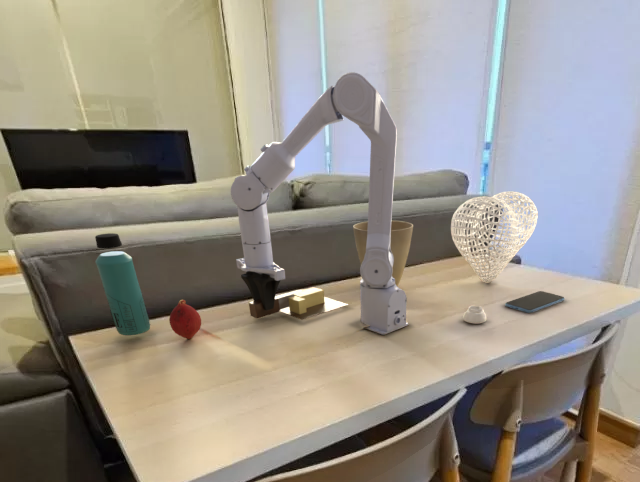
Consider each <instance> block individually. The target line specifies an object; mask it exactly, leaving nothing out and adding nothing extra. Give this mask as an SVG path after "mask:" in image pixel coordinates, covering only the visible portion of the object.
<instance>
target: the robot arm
mask: <svg viewBox="0 0 640 482" xmlns="http://www.w3.org/2000/svg"><path fill="white" fill-rule="evenodd" d="M390 113H391V112H389V110H388V107H387V106H386V104H385V102H384V100H383V98H382V96H381V94H380V93H379V91H378V90H377V88H375V86H374V85H372V83H371V82H370V81H369V80H367V79H366V77H364V76H363V75H362V74H360V73H358V72H355V71H354V72H352V71H351V72H350V71H349V72H346V73H344V74H342V75H341V76H340V77H339V78H338V79H337V80H336V82H335V85H330V86H329V87H328V88H327V89H326V90H325V91H324V92H323V93H322V94H321V95H320V96H319V97H318V98H317V100H315V102H314V103H313V104H312V106H310V107H309V109H308V110H307V111H306V112H305V114H304V115H303V116H302V117H301V118H300V119H299V121H298V122H297V124H295V126H294V127H293V128H292V130H291V131H290V132H289V133H288V135H286V137H285V138H284V139H283V140H282V141H281V142H277V141H272V142H271V143H269V144H263V146H262V147H261V148H260V152H261V154H260V155H259V156H258V157H257V158H256V159H255V161H253V163H252V164H251V165H246V166H245V168H244V172H245V174H242V175H238V176H236V177H235V178H234V180H233V182H232V184H231V185H230V196H231V200H232V202H233V203H234V204H235V205H236V208H237V216H238V224H239V232H240V239H241V245H242V252H243V253H242V254H243V257H242V258H241V257H240V258H236V259H235V261H236V267H237V269H238V270H241V271H242V272H245V273H243V274H240V275H241V276H240V278H241V279H242V281H243V282H244V283H245V285H246V286H247V288H248V290H249V292H250V295H251V297H252V301H256V300H260V299H261V301H262V305H263V308H264V310H270V309H273V308H274V302H275V296H277V295H276V294H277V292H278V291H277V290H278V287H279V285H280V283H281V281H283V280H286V271H285V268H282V267H281V266H279V265H278V264H276V263H275V262H274V256H273V248H272V239H271V238H272V237H271V230H270V221H269V215H268V214H269V213H268V205H267V202H268V201H269V199H270V194H272V193H274V191H276V189H277V188H278V187H280V185H281V184H282V183H283V182H284V181H285V180H286V179H287V178H288V177H289V176H290V174H292V173H293V172H294V170H295V169H296V157H297V156H298V155H299V154H300V153H301V152H302V151H303V150H304V149H305V148H306V147H307V146H308V145H309V144H310V143H311V141H313V140H314V139H315V137H317V135H319V134H320V133H321V131H323V129H325V128H326V126H329V125H332V124H336V123H341V122H343V121H344V120H345V119H344V118H346V119H347V120H349V121H350V122H353V123H354V124H356V125H357V126H358V128H359V129H360V130H361V131H362V132H363V133H364V135H365V136H366V137H367V138H368V139H369V140H370V158H369V183H368V208H367V209H368V210H367V211H368V212H367V221H368V232H367V243H366V253H365V256H364V260H363V262H362V264H361V263H360V268H359V273H360V277H361V279H360V280H359V292H360V293H359V295H360V296H359V298H360V299H359V301H360V322H361V323H362V324H363V325H366V326H364V327H363V329H365V330H367V331H371V332H373V333H376V334H379V335H382V336H384V335H387V334H390V333H392V332H395V331H398V330H400V329H402V328H405V327H408V326H409V323H408V322H407V306H408V305H407V303H408V302H407V301H408V300H407V299H408V297H407V293H406V292H405V290H403V289H402V288H400V287H399V286H398V287H397V286H396V284H395V279H394V278H393V277H392V272H393V269H392V267H393V264H394V257H393V254H392V252H391V248H390V242H391V221H393V220H392V219H393V204H394V188H395V187H394V186H395V172H396V171H395V170H396V155H397V154H396V153H397V140H398V128H397V125H396V123H395V121H394V119H393V117H392V116H391V114H390Z"/></svg>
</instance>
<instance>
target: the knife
mask: <svg viewBox="0 0 640 482" xmlns="http://www.w3.org/2000/svg"><path fill="white" fill-rule="evenodd" d="M293 296H294V294H290V295H287V296H283V297H280V298H276V297H275V302H274V308H273V309H270V310H264V308H263V305H262V301H261V299H260V300H256V301H254V300H252V301H250V302H249V301H248V307H249V314H250V317H251V318H255V319H260V318H263V317H264V318H265V317H266V316H270V315H274V314H276V313H280V309H284V308H287V307H289V298H290V297H293Z"/></svg>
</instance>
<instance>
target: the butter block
mask: <svg viewBox="0 0 640 482" xmlns="http://www.w3.org/2000/svg"><path fill="white" fill-rule="evenodd" d="M301 290H302V291H298V292H295V293H291V294H294V296H297V297H300V298H303V299H306V308H308V307H312V306H315V305H318V304H321V303H325V301H324V297H325V290H324V289H321V288H317V287H316V286H314V287H309V288H305V289H301Z"/></svg>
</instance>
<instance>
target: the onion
mask: <svg viewBox="0 0 640 482" xmlns="http://www.w3.org/2000/svg"><path fill="white" fill-rule="evenodd" d="M168 319H169V325H170V327H171V330H172V331H173V332H174V334H176V335H178V336H179V337H181V338H184V339H187V340H191V339H193V338H194V336H196V334H197V333H198V332H200V329H201V326H202V317H201V315H200V313H199V312H198V311H197V310H196V309H195V307H193V306H191V305H189V304H187V303H186V300H185V299H180V300H179V301H178V303H177V305H176V306H175V307H174V308H173V309H172V311H171V312H170V315H169V318H168Z"/></svg>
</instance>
